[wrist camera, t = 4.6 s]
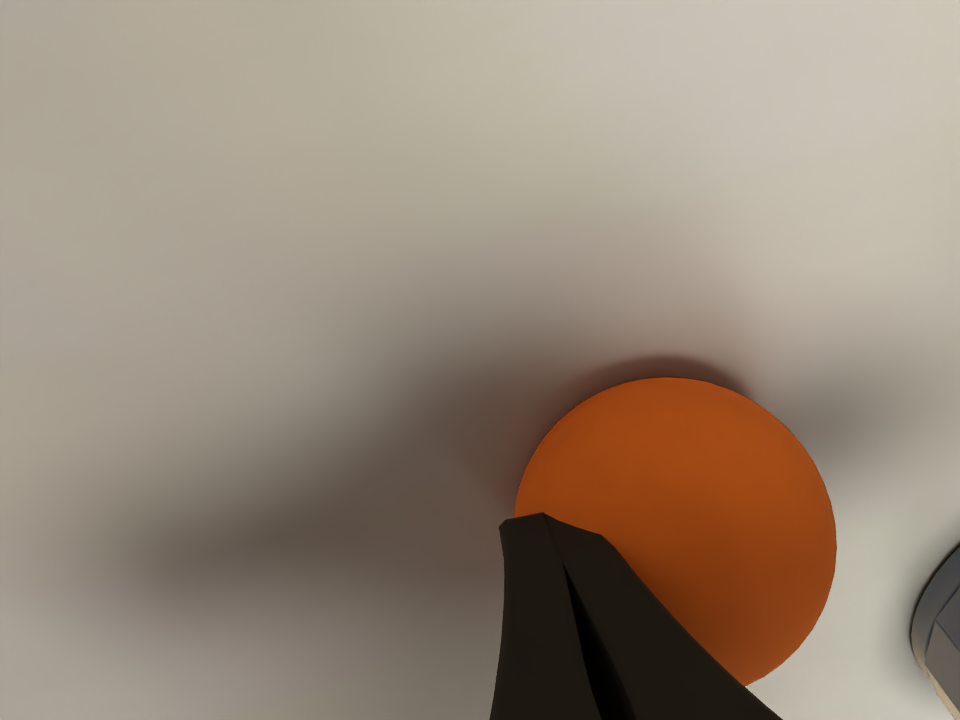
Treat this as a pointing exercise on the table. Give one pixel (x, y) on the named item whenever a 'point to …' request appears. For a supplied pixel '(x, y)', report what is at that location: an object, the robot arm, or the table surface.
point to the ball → (697, 511)
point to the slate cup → (941, 633)
